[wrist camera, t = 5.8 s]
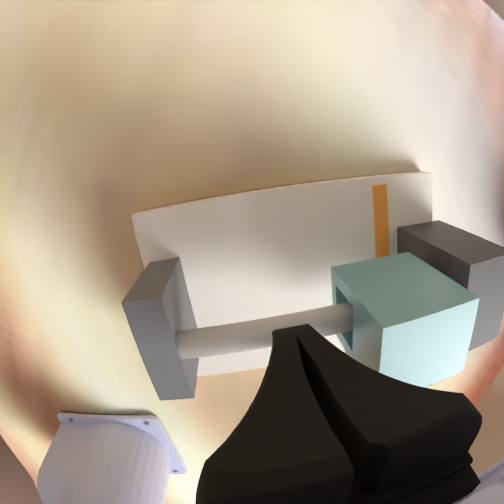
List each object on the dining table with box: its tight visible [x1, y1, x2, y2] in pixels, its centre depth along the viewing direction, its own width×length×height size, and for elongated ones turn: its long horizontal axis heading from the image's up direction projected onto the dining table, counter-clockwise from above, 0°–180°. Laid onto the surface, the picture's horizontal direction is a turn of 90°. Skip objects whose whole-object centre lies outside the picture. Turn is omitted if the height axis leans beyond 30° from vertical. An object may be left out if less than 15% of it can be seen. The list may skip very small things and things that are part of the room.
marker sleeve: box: [331, 252, 479, 387], centre depth 11 cm, size 4×3×5 cm
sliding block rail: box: [122, 171, 504, 400], centre depth 13 cm, size 16×10×7 cm, turn 99°
